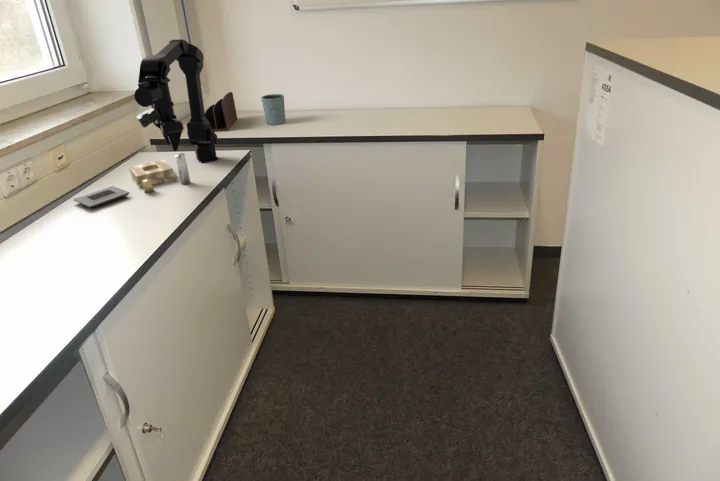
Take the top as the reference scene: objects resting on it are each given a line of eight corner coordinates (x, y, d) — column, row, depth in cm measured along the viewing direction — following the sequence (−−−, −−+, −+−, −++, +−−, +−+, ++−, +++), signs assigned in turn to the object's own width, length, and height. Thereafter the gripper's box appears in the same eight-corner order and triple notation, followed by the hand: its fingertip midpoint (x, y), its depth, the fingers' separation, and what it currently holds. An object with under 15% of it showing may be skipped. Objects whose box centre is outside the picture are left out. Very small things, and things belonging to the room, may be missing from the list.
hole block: (166, 170, 194) (163, 159, 192) (175, 179, 185) (172, 168, 183) (131, 177, 189) (128, 167, 187) (139, 187, 180) (136, 176, 178)
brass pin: (153, 189, 178) (150, 177, 176) (155, 192, 176) (152, 180, 174) (143, 191, 176) (140, 180, 175) (145, 194, 174) (142, 182, 172)
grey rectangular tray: (114, 191, 179) (112, 184, 178) (131, 198, 173) (129, 191, 172) (75, 205, 170) (73, 198, 169) (91, 212, 164) (89, 205, 163)
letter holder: (237, 119, 255) (233, 89, 248) (228, 131, 237) (223, 99, 231) (216, 120, 255) (211, 90, 249) (206, 132, 238) (200, 100, 231)
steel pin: (189, 180, 183) (183, 152, 179) (191, 183, 181) (185, 154, 176) (180, 182, 182) (174, 154, 177) (182, 185, 180) (176, 156, 175)
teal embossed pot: (277, 126, 240) (273, 99, 234) (260, 124, 244) (256, 97, 239) (291, 121, 247) (288, 94, 242) (274, 119, 252) (271, 93, 247)
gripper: (129, 98, 173) (141, 145, 180) (140, 108, 159) (152, 159, 166) (165, 93, 178) (174, 139, 185) (178, 102, 163) (188, 152, 171)
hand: (172, 147), depth 177 cm, fingers open, 9 cm apart
